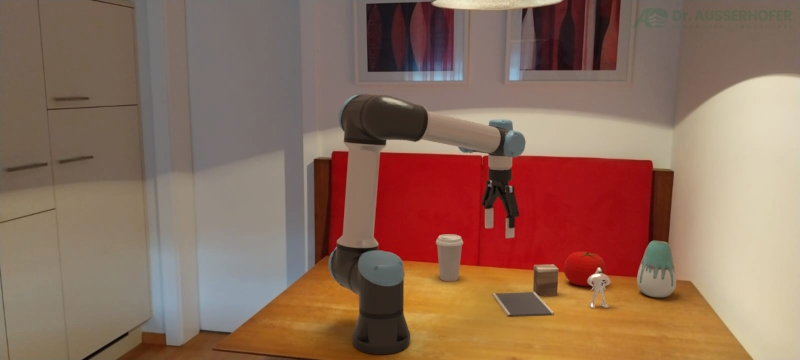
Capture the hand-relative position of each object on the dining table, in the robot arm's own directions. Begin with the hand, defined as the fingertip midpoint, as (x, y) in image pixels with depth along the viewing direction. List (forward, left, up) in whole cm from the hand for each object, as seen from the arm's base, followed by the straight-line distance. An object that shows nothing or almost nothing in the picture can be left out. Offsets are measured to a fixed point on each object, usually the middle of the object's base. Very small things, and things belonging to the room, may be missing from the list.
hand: (499, 232), depth 191 cm
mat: (-13, -4, -20) cm, 24 cm away
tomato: (+4, -31, -20) cm, 37 cm away
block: (-4, -15, -20) cm, 25 cm away
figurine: (-16, -27, -20) cm, 37 cm away
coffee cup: (+14, +14, -20) cm, 28 cm away
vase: (-8, -50, -20) cm, 55 cm away
